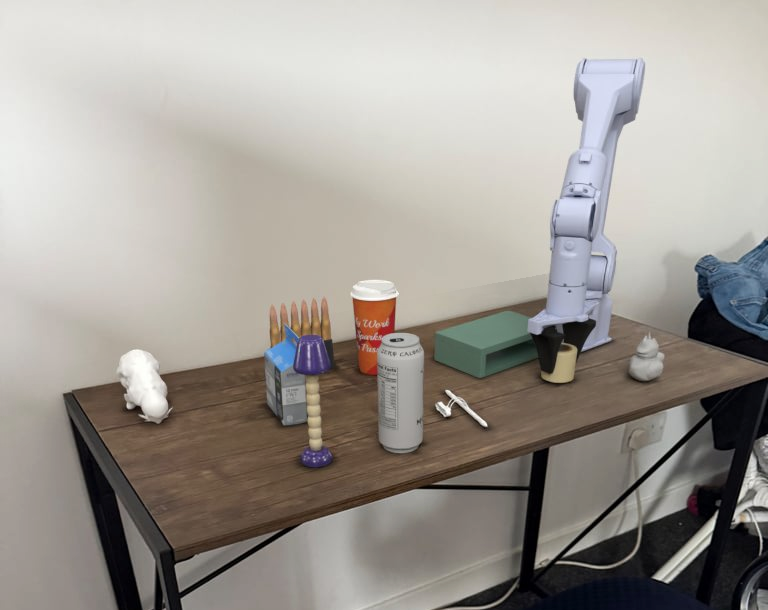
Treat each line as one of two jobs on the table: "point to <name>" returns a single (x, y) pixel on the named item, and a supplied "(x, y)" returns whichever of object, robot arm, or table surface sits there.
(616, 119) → the robot arm
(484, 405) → the table surface
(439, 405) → the picture light
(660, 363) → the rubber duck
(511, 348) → the desk shelf
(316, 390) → the toy lamp
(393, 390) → the energy drink can
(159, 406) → the white animal figurine
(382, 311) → the paper cup
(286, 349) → the label tape box
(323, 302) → the ammunition clip
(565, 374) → the tape roll
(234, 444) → the table surface
